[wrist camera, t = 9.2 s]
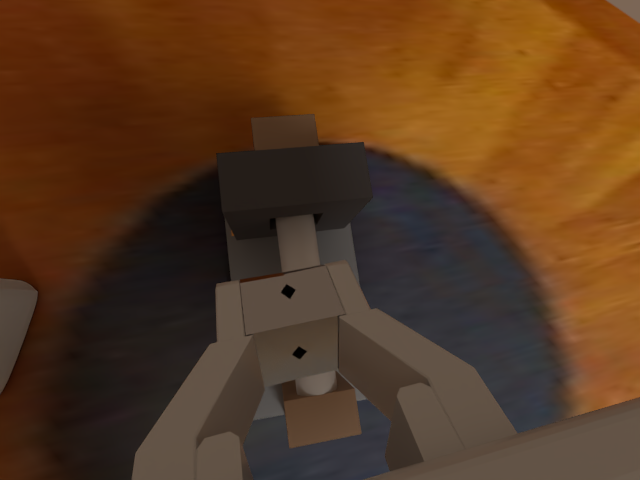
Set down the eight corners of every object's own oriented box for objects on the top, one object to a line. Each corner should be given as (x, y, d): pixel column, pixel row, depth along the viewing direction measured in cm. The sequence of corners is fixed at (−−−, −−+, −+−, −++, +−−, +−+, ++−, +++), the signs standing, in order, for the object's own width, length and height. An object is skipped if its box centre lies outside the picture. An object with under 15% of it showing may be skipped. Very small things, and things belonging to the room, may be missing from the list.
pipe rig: (372, 393, 35) (410, 425, 26) (246, 416, 33) (236, 459, 24) (336, 157, 39) (357, 110, 30) (221, 167, 37) (204, 119, 28)
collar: (344, 228, 35) (372, 197, 25) (236, 240, 33) (222, 212, 23) (338, 187, 35) (363, 142, 26) (232, 197, 34) (216, 153, 24)
